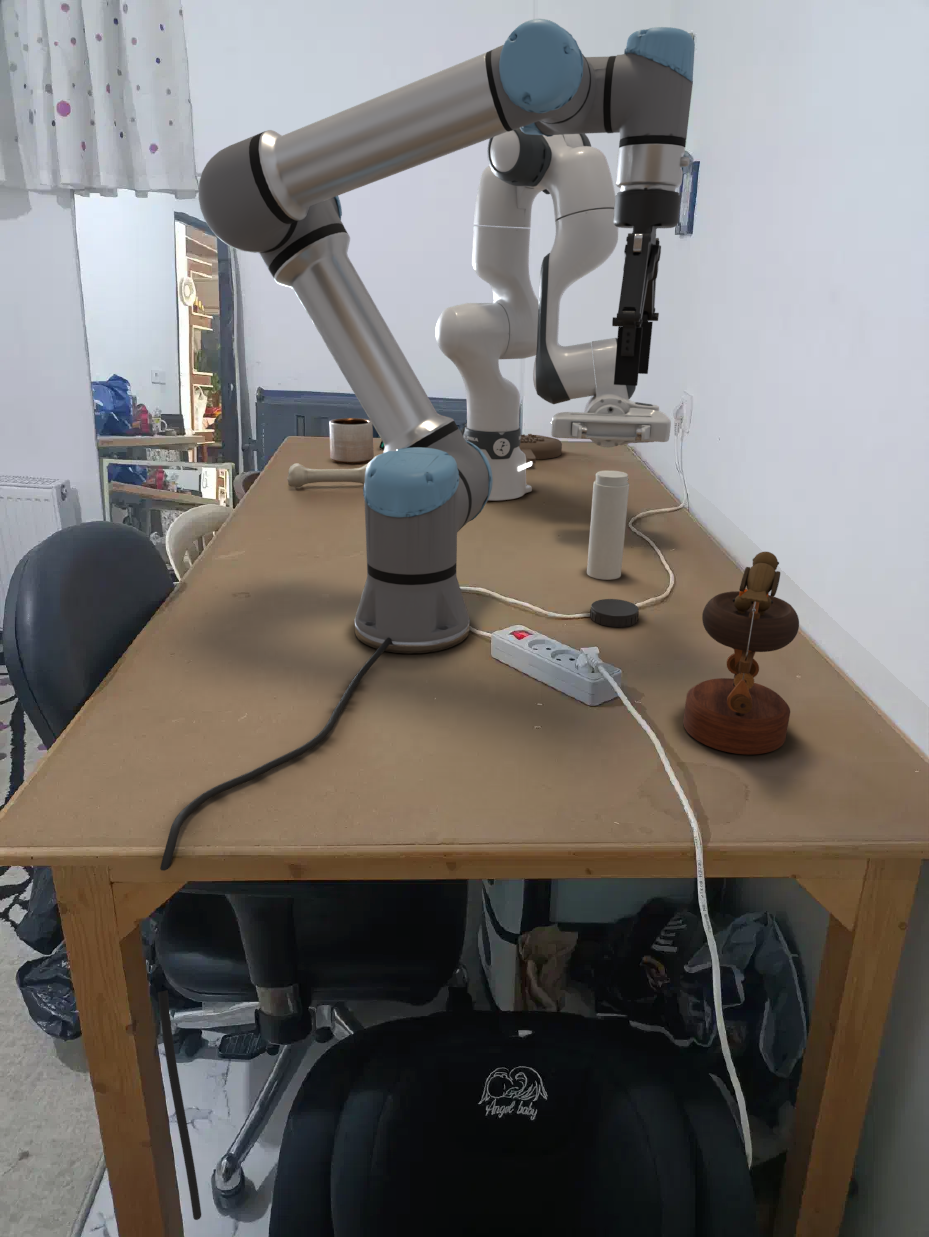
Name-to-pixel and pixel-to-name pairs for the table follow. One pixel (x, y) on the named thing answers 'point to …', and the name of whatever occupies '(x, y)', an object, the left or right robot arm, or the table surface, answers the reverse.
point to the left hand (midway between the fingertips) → (631, 379)
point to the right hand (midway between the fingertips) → (611, 434)
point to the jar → (608, 525)
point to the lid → (614, 612)
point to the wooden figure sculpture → (744, 666)
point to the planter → (351, 440)
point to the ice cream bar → (539, 447)
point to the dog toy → (324, 475)
